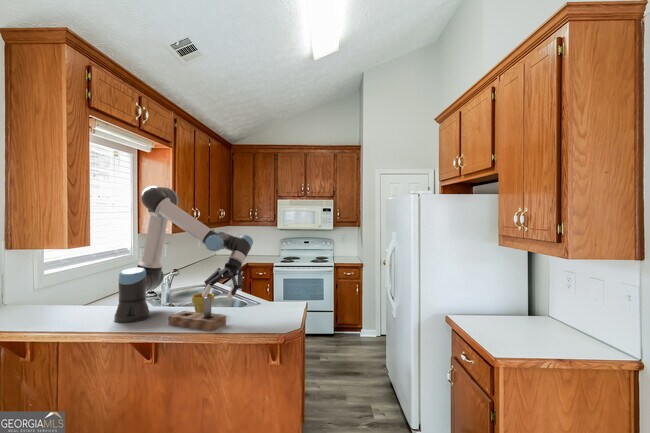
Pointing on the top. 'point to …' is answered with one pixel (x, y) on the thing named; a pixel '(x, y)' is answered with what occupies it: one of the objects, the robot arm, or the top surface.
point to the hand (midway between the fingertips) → (215, 299)
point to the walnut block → (196, 320)
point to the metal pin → (207, 308)
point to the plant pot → (200, 302)
